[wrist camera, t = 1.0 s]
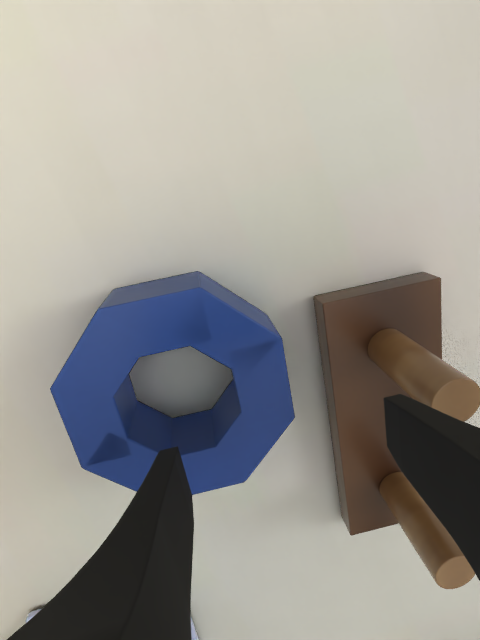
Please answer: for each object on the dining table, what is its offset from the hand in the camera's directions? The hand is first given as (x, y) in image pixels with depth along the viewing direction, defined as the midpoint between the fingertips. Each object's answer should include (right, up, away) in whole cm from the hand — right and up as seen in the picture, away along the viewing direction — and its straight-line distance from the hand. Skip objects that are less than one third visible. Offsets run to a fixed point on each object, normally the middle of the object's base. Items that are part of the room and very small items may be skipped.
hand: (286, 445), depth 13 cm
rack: (+6, -1, +9) cm, 11 cm away
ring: (-5, +2, +7) cm, 9 cm away
